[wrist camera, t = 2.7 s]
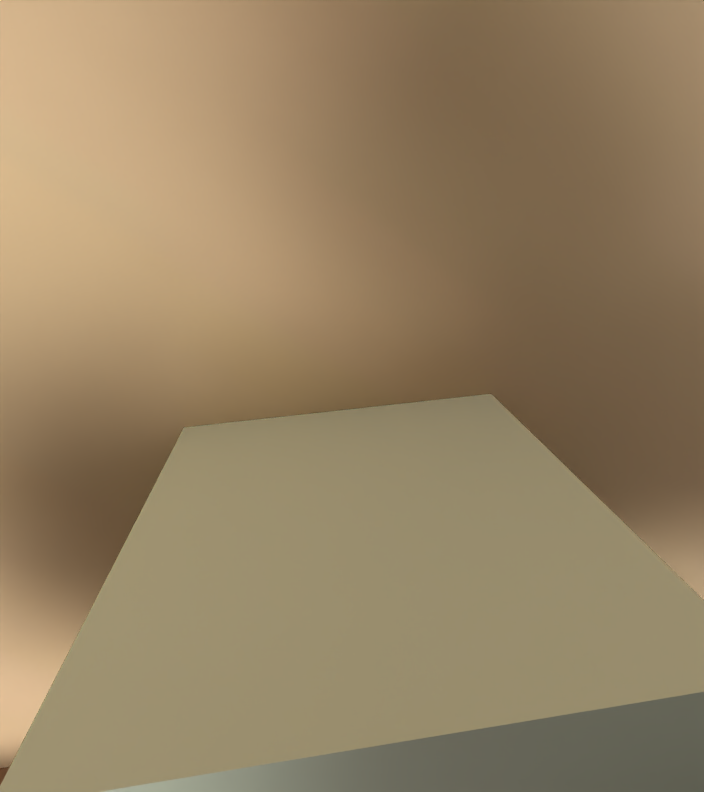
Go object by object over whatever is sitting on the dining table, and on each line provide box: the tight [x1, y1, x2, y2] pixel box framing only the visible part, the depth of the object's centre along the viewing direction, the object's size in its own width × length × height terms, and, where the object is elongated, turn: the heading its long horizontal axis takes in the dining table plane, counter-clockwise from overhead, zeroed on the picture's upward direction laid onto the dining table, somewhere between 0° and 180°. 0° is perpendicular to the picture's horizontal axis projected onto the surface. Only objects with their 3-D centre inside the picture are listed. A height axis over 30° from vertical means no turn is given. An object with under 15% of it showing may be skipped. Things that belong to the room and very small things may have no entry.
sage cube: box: [0, 394, 704, 792], centre depth 7 cm, size 6×6×6 cm
